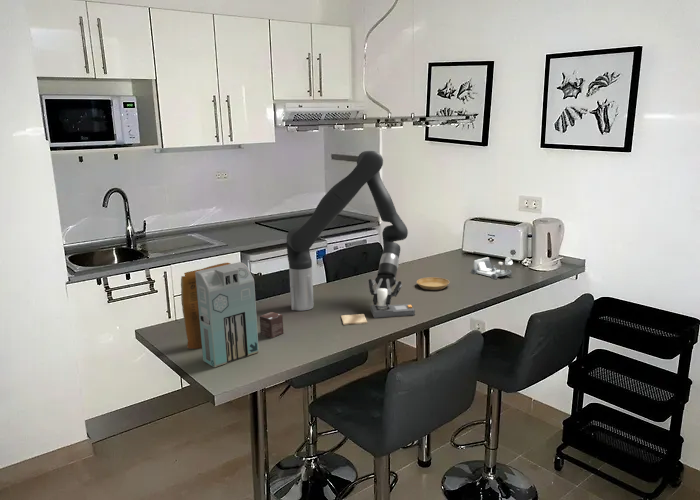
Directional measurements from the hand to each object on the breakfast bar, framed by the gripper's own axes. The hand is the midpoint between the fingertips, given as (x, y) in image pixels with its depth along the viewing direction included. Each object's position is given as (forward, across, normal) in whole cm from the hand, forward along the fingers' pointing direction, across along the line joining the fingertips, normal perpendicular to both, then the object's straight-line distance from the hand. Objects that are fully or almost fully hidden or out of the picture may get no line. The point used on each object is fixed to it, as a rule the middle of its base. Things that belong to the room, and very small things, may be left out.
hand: (381, 304), depth 218 cm
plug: (+2, 0, +5) cm, 5 cm away
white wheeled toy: (-45, +38, +53) cm, 79 cm away
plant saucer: (-27, +13, +34) cm, 45 cm away
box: (+24, -33, -17) cm, 44 cm away
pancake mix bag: (+33, -50, -26) cm, 66 cm away
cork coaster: (+9, -9, -2) cm, 13 cm away
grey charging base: (+1, +4, +6) cm, 7 cm away
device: (+39, -37, -32) cm, 63 cm away
